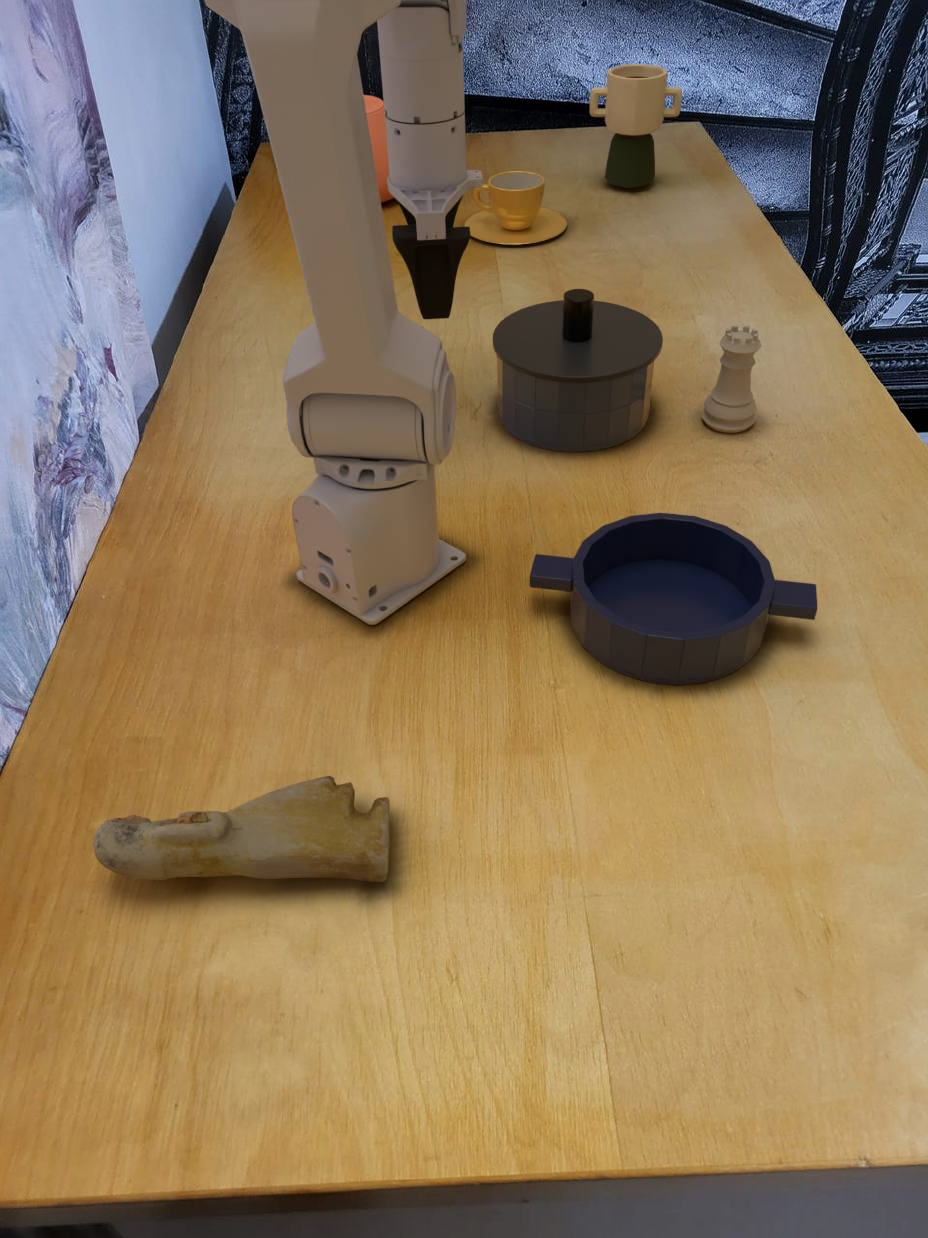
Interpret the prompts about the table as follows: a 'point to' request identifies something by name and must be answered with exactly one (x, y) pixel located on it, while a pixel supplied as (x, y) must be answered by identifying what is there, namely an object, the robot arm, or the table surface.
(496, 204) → the cup
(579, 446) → the pot
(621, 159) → the character mug
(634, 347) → the lid
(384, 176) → the teapot
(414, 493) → the robot arm
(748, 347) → the rook chess piece
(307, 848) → the figurine
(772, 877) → the table surface
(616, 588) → the pan
